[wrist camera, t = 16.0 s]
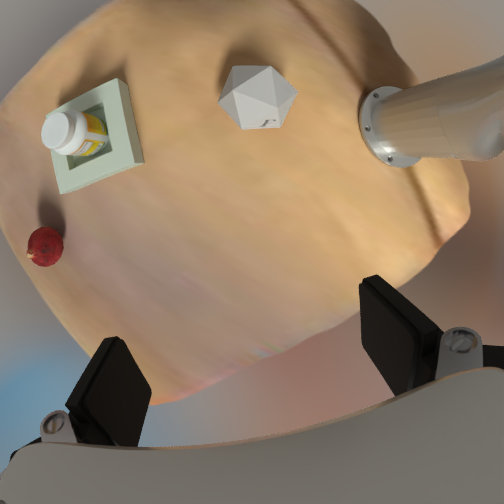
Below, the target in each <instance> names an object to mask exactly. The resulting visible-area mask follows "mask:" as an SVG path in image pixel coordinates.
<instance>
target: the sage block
mask: <svg viewBox="0 0 504 504" xmlns="http://www.w3.org/2000/svg"><path fill="white" fill-rule="evenodd" d="M67 110H78V111H81V112H84V113H87V114H90V115H93V116H96V117H99V118H101V119H103V120H104V121H105V122H106V124H107V127H108V132H109V137H108V141H107V144H106V145H105V147H104V148H103V149H102V150H101V151H100V152H99V153H97V154H95V155H92V156H77V155H61V154H58V153H57V152H55V151H54V149H52V148H50V150H51V155H52V160H53V165H54V170H55V174H56V179H57V183H58V187H59V191H60V194H64V193H69V192H73V191H76V190H78V189H81V188H83V187H85V186H87V185H90V184H92V183H95V182H97V181H99V180H102V179H104V178H107V177H109V176H112V175H114V174H117V173H119V172H122V171H125V170H127V169H130V168H133V167H136V166H138V165H141V164H144V159H143V155H142V151H141V146H140V142H139V138H138V133H137V129H136V124H135V120H134V115H133V110H132V105H131V100H130V95H129V89H128V85H127V84H125V83H124V82H123V81H121V80H120V79H119V78H115V79H113V80H111V81H108V82H106V83H104V84H102V85H100V86H98V87H96V88H94V89H92V90H90V91H88V92H86V93H84V94H82V95H80V96H78V97H76V98H74V99H72V100H71V101H69V102H67V103H65V104H64V105H62V106H60V107H58V108H57V109H55V110H53V111H52V112H50V113H49V114H47V115H45V116H46V119H47V118H48V117H49V116H50V115H51V114H53V113H55V112H65V111H67Z"/></svg>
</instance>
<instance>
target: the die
mask: <svg viewBox="0 0 504 504" xmlns="http://www.w3.org/2000/svg"><path fill="white" fill-rule="evenodd" d="M297 93H298V91H297V90H296V89H295V88H294V87H293V86H292V85H291V84H290V83H289V82H288V81H287V80H286V79H285V78H284V77H282V76H281V75H280V74H279V73H278V72H277V71H276V70H275V69H274V68H273V67H272V66H256V65H243V66H233V67H232V69H231V71H230V74H229V76H228V78H227V81H226V83H225V85H224V88H223V90H222V92H221V95H220V97H219V100H218V102H217V103H218V104H219V105H220V106H221V107H222V108H223V109H224V110H225V111H226V113H227V114H228V115H229V116H230V117H231V118H232V119H233V120H234V121H235V122H236V124H237V125H238V126H239V127H240V128H241V129H242V130H243V129H258V128H278V127H281V125H282V123H283V121H284V119H285V117H286V115H287V113H288V111H289V109H290V107H291V105H292V103H293V101H294V99H295V97H296V95H297Z"/></svg>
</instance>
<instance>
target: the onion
mask: <svg viewBox="0 0 504 504" xmlns="http://www.w3.org/2000/svg"><path fill="white" fill-rule="evenodd" d="M63 248H64V247H63V240H62V238H61V235H60V234H59V233H58V232H57V231H56V230H54V229H53V228H51V227H41V228H39V229H37V230H35V231H34V232H33V233H32V235H31V237H30V239H29V241H28V250H27V256H28V258H31V259H32V261H33V262H34V263H35V264H37V265H39V266H43V267H48V266H50V265H53V264H55V263H56V262H57V261H58V260H59V259H60V257H61V255H62V252H63Z"/></svg>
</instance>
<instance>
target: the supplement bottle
mask: <svg viewBox="0 0 504 504" xmlns="http://www.w3.org/2000/svg"><path fill="white" fill-rule="evenodd" d="M41 137H42V141H43V143H44V145H45V146H46V147H48V148H52V149H54V151H55V152H57V153H58V154H61V155H77V156H92V155H95V154H97V153H99V152H100V151H101V150H102V149H103V148H104V147H105V145H106V144H107V141H108V137H109V132H108V127H107V124H106V122H105V121H104V120H103V119H101V118H99V117H96V116H93V115H90V114H87V113H84V112H81V111H78V110H67V111H65V112H55V113H53V114H51V115H50V116H49V117H48V118H47V119H46V121H45V122H44V124H43V127H42V132H41Z"/></svg>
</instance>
